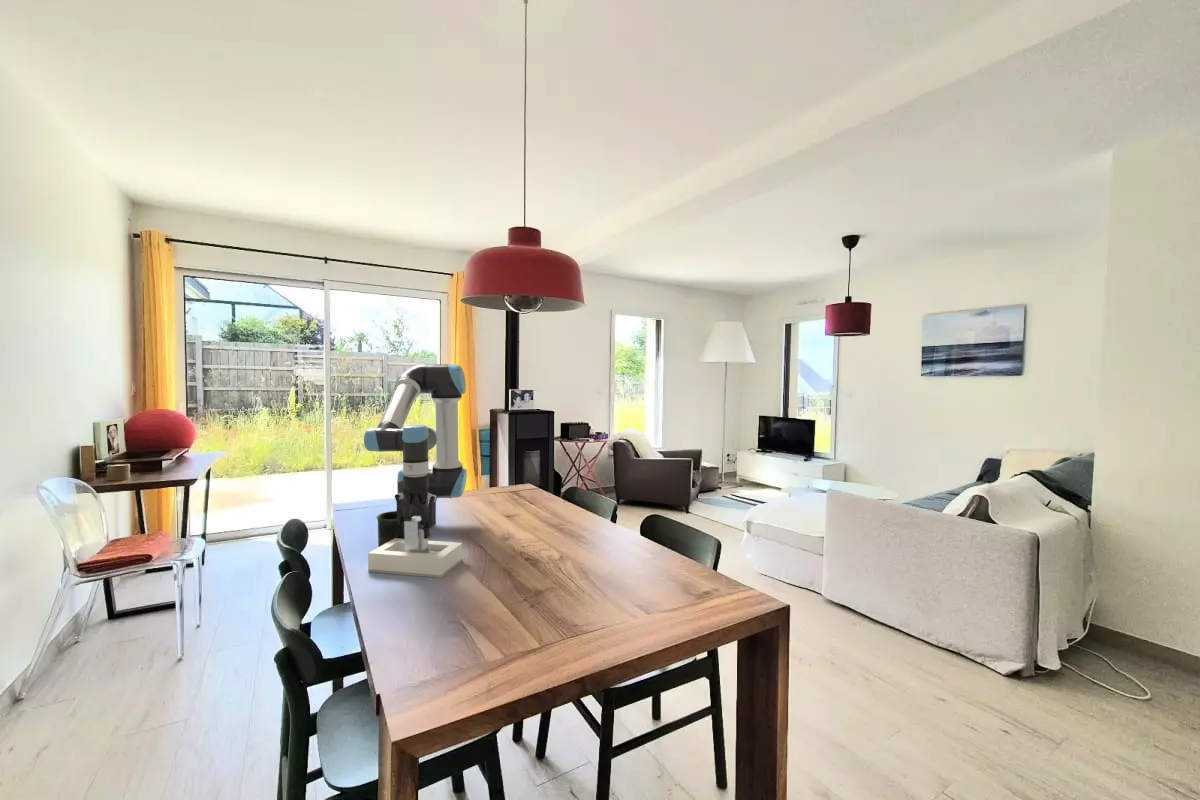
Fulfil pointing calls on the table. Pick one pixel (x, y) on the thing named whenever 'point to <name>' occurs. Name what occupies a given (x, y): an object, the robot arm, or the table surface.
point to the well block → (415, 559)
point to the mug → (388, 528)
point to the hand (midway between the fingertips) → (416, 547)
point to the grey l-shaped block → (414, 536)
